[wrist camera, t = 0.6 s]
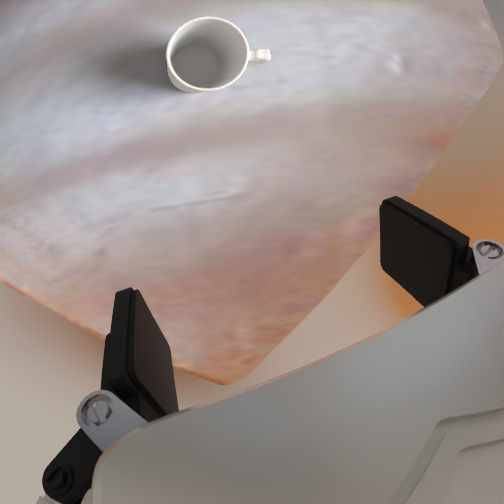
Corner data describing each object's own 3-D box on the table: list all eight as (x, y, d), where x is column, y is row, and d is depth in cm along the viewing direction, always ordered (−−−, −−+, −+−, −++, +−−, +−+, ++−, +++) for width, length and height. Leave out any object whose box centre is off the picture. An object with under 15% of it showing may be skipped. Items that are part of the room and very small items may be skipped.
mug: (166, 97, 32) (167, 94, 22) (164, 44, 29) (165, 19, 19) (250, 91, 35) (287, 89, 24) (248, 41, 32) (285, 19, 21)
